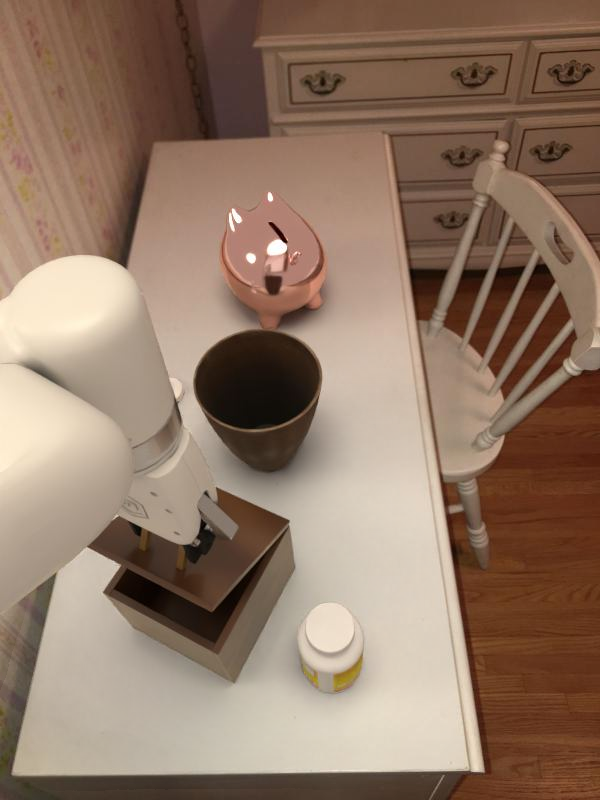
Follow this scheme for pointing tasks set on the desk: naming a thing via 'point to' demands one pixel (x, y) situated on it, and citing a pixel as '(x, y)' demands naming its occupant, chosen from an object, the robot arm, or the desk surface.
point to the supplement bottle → (331, 647)
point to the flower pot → (259, 394)
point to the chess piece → (177, 388)
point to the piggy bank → (272, 259)
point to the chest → (207, 611)
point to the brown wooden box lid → (212, 570)
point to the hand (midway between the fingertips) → (174, 534)
